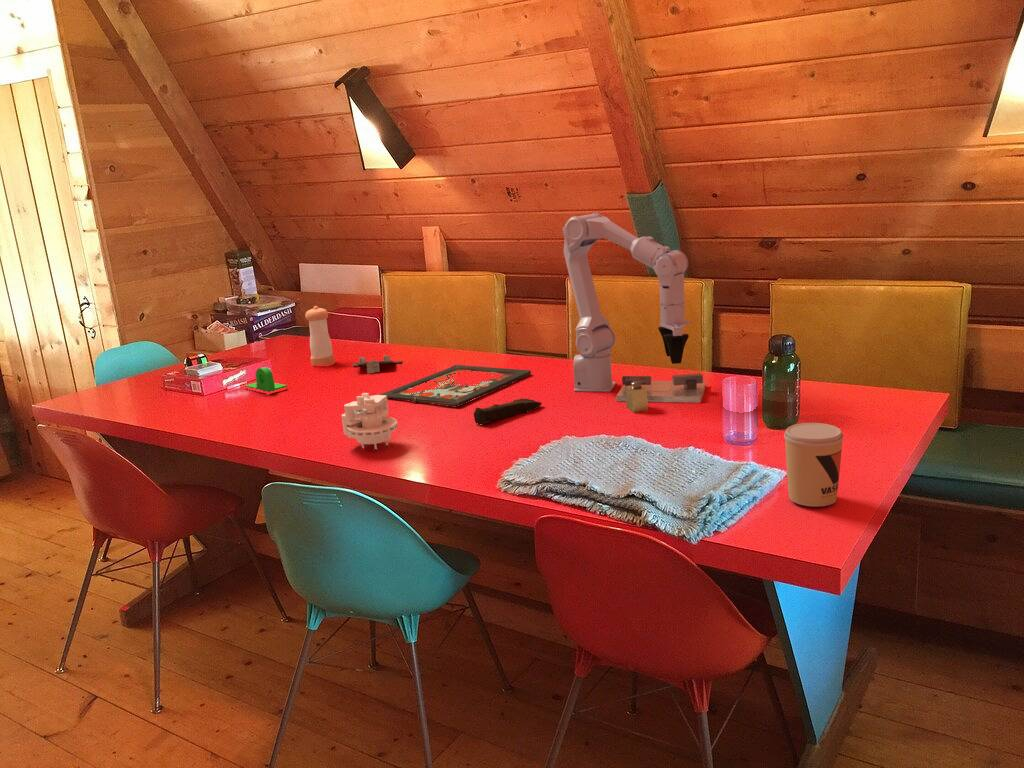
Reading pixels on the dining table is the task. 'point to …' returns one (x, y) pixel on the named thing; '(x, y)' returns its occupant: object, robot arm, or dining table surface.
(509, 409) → the hand tool
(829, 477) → the coffee cup
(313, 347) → the salt shaker
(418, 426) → the dining table surface
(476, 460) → the dining table surface
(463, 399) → the painting
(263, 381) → the mechanical part
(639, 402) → the tan block with knob
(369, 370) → the metal bracket
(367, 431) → the mechanical part
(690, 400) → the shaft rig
